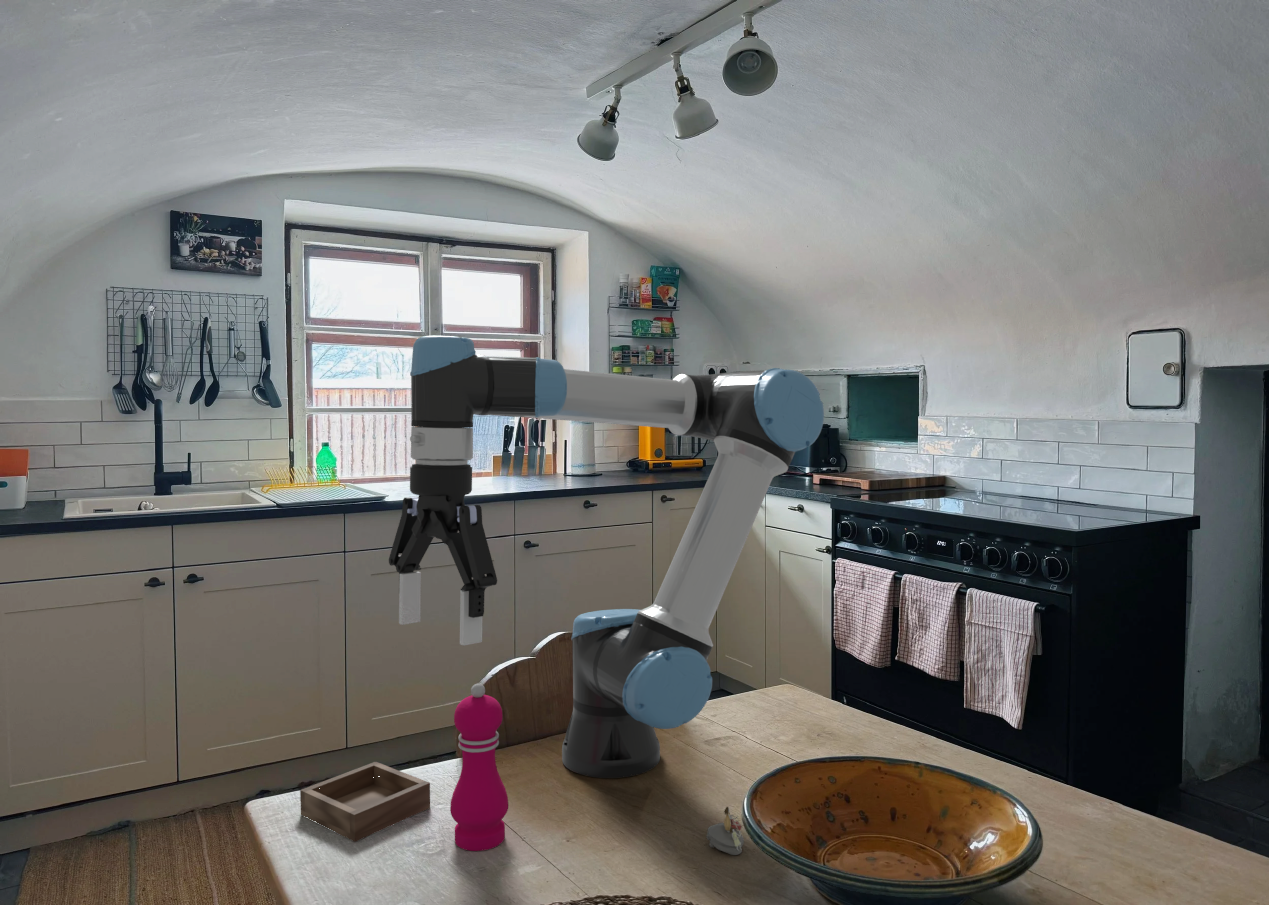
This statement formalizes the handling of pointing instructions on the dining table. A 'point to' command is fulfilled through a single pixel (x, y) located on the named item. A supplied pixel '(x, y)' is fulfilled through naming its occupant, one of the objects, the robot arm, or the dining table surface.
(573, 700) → the robot arm
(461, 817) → the pepper mill
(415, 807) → the holder tray
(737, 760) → the dining table surface
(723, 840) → the figurine
